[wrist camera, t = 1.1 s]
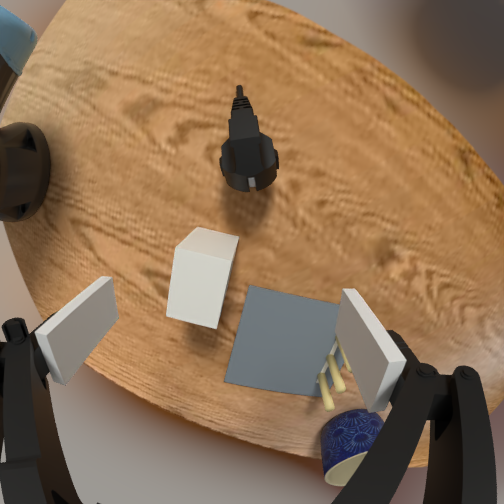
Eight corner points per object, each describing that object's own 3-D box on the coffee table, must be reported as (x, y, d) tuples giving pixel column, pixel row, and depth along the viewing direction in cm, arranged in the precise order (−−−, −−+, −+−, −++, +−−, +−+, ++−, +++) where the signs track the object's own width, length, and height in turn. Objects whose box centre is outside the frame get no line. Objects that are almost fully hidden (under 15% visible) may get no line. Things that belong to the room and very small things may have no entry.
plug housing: (187, 281, 34) (166, 315, 26) (197, 226, 32) (175, 247, 24) (227, 290, 35) (217, 329, 26) (239, 236, 33) (232, 260, 24)
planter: (355, 445, 44) (366, 486, 33) (303, 437, 43) (309, 484, 32) (394, 406, 41) (413, 449, 30) (342, 395, 39) (357, 446, 29)
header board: (224, 379, 39) (218, 415, 32) (249, 284, 34) (246, 314, 27) (324, 395, 39) (333, 429, 32) (366, 309, 35) (387, 339, 28)
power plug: (264, 78, 27) (281, 155, 22) (268, 125, 34) (282, 202, 29) (213, 86, 27) (213, 164, 22) (224, 131, 34) (229, 209, 29)
